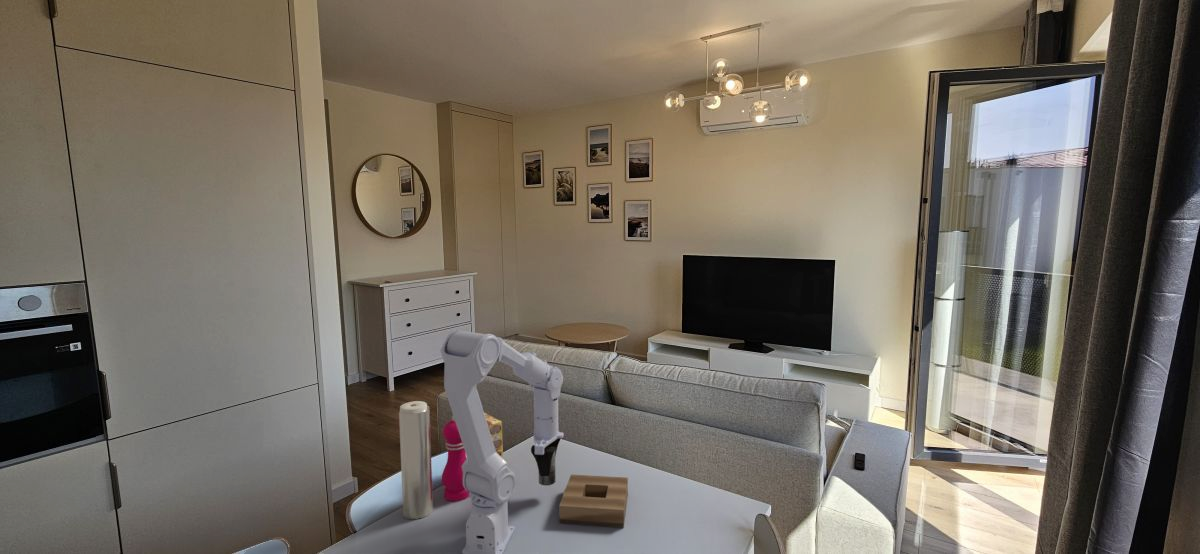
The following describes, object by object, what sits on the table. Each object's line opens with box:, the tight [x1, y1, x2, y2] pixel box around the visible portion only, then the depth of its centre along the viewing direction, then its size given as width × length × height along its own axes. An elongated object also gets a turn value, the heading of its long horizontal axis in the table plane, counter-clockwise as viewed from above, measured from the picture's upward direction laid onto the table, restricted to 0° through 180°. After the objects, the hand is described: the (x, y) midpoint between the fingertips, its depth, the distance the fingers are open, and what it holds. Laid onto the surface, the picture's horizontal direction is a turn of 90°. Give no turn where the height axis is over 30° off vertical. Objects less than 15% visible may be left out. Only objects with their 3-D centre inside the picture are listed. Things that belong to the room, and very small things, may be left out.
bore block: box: [558, 474, 629, 529], centre depth 110 cm, size 14×14×4 cm
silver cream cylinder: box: [398, 400, 434, 520], centre depth 108 cm, size 6×6×25 cm
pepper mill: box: [441, 415, 470, 502], centre depth 116 cm, size 7×7×20 cm
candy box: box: [484, 412, 504, 459], centre depth 125 cm, size 9×4×15 cm, turn 44°
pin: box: [538, 445, 557, 486], centre depth 114 cm, size 4×4×8 cm
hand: (546, 470), depth 114 cm, fingers closed on pin, 4 cm apart
